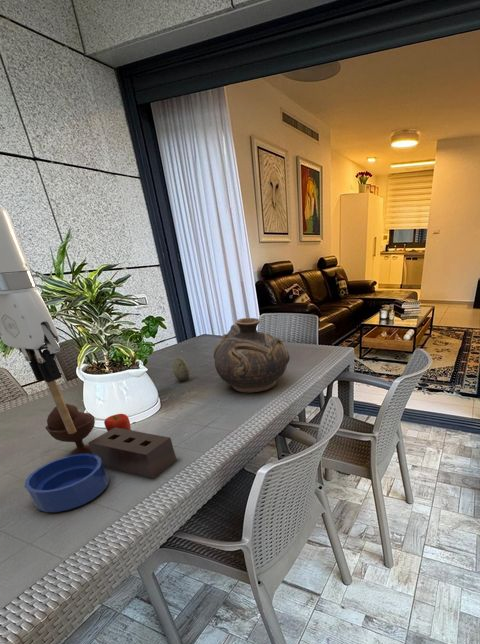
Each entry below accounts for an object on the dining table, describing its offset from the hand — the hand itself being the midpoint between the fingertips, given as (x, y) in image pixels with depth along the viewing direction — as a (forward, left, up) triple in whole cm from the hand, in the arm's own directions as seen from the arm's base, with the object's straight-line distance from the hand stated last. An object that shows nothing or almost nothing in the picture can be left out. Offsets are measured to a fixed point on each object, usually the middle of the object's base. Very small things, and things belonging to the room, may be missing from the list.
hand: (49, 378), depth 72 cm
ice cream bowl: (-15, +9, -27) cm, 32 cm away
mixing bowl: (-1, -4, -27) cm, 27 cm away
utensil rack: (+4, +10, -27) cm, 29 cm away
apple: (-10, +18, -27) cm, 34 cm away
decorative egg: (-24, +62, -27) cm, 72 cm away
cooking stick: (0, 0, -13) cm, 13 cm away
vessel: (+7, +66, -27) cm, 72 cm away
